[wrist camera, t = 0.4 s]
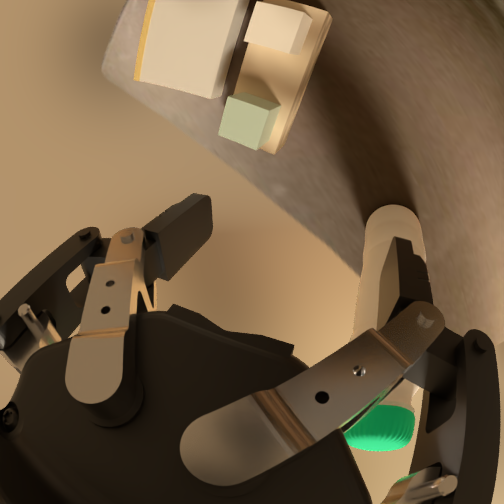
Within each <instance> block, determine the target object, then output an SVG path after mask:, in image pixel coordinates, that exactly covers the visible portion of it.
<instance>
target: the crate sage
mask: <svg viewBox="0 0 504 504" xmlns="http://www.w3.org/2000/svg"><path fill="white" fill-rule="evenodd" d="M280 108H281V105H279V104H276V103H274V102H271V101H268V100H266V99H263V98H260V97H257V96H254V95H251V94H248V93H245V92H242V93H238V94H234V95H231V96H228V98H227V101H226V105H225V109H224V113H223V117H222V121H221V125H220V129H219V133H218V135H219V136H222V137H225V138H227V139H230V140H232V141H235V142H237V143H240V144H242V145H245V146H247V147H249V148H252V149H254V150H257V149H259V148H260V147H261V146H263V145H264V144H265V143H266V142H268V141H269V139H270V136H271V133H272V130H273V128H274V125H275V122H276V119H277V116H278V113H279V110H280Z"/></svg>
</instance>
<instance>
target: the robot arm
mask: <svg viewBox="0 0 504 504" xmlns="http://www.w3.org/2000/svg"><path fill="white" fill-rule="evenodd" d="M212 229H213V221H212V206H211V198H210V197H209V196H208V195H202V194H196V193H193V194H191V195H190V196H188V197H187V198H186V199H185V200H183V201H181V202H180V203H177V204H175V205H172V206H171V207H170V208H168V209H167V210H165V212H163V213H161V214H160V215H159V216H158V217H156V218H154V219H153V220H152V221H150V222H149V223H148V224H146V225H145V226H144V227H142V228H141V229H139V228H135V227H132V228H126V229H123V230H120V231H118V232H117V233H116V234H114V236H113V237H112V238H101V234H100V231H99V229H98V228H96V227H88V228H85V229H82V230H80V231H78V232H77V233H75V234H74V235H73V236H72V237H70V238H69V239H68V240H67V241H65V242H64V243H63V244H62V245H60V246H59V247H58V248H57V249H56V250H54V251H53V252H52V253H51V254H49V255H48V256H47V257H46V258H45V259H44V260H42V262H40V263H39V264H38V265H37V266H36V267H35V268H33V269H32V270H31V271H30V272H29V273H28V274H27V275H26V276H24V277H23V279H21V280H20V281H19V282H18V283H17V284H16V285H15V286H14V287H13V288H12V289H11V290H10V291H9V292H8V293H7V294H6V295H5V296H4V297H3V298H2V299H1V300H0V354H1V355H2V356H3V357H4V358H5V359H6V360H7V362H8V363H9V364H10V365H11V366H13V367H14V368H15V369H16V370H17V371H18V372H19V373H20V374H21V375H20V379H19V382H18V384H17V387H16V389H15V392H14V394H13V396H12V398H11V400H10V402H9V403H8V405H7V406H6V407H5V408H3V409H2V410H0V504H372V500H371V496H370V494H369V492H368V489H367V487H366V485H365V482H364V480H363V478H362V476H361V473H360V471H359V469H358V466H357V464H356V461H355V459H354V457H353V455H352V453H351V450H350V448H349V445H348V443H347V441H346V439H345V436H344V433H345V432H347V431H348V430H349V429H351V428H352V427H353V426H354V425H356V424H357V423H358V422H359V421H360V420H362V419H363V418H364V417H365V416H366V415H367V414H368V413H369V412H370V411H371V410H373V409H374V408H375V407H376V406H377V405H378V404H379V403H380V402H382V401H383V400H384V399H385V398H386V397H387V396H388V395H389V394H390V393H391V392H392V391H393V390H394V389H395V388H397V387H398V386H399V385H400V384H401V383H402V382H403V381H404V380H405V379H406V380H408V381H410V382H412V383H414V384H415V385H417V386H419V387H421V388H423V389H424V391H423V400H422V409H421V416H420V422H419V428H418V434H417V440H416V445H415V450H414V455H413V459H412V463H411V467H410V471H409V475H408V476H405V477H403V478H401V479H399V480H398V481H397V482H396V483H395V484H394V485H393V486H392V487H391V489H390V491H389V492H388V494H387V496H386V498H385V499H384V501H383V502H382V503H381V504H491V502H492V497H493V492H494V487H495V481H496V473H497V466H498V457H499V445H500V392H499V379H498V369H497V361H496V354H495V348H494V345H493V343H492V341H491V339H490V338H489V337H488V336H487V335H486V334H485V333H483V332H482V331H480V330H476V329H472V330H469V331H468V332H467V333H466V334H465V336H464V337H462V336H460V335H458V334H456V333H454V332H453V331H451V330H449V329H447V328H446V327H445V320H444V317H443V315H442V313H441V312H440V310H439V309H438V308H437V307H435V306H434V305H433V299H432V293H431V287H430V282H429V276H428V271H427V266H426V263H425V262H424V260H423V259H422V258H421V256H420V255H416V254H414V252H413V247H412V242H411V240H407V239H404V238H400V237H396V236H394V237H393V239H392V242H391V245H390V248H389V251H388V254H387V257H386V259H385V262H384V265H383V268H382V271H381V276H380V282H379V302H378V317H377V328H376V330H375V329H374V328H370V329H368V330H366V331H365V332H363V333H362V334H361V335H359V336H358V337H356V338H355V339H354V340H352V341H351V342H349V343H348V344H346V345H345V346H343V347H342V348H340V349H339V350H338V351H336V352H334V353H333V354H331V355H330V356H328V357H326V358H325V359H323V360H322V361H320V362H318V363H317V364H315V365H314V366H312V367H310V368H309V367H308V366H307V365H306V364H305V363H304V362H302V361H301V360H299V359H298V358H297V357H295V356H293V355H292V354H293V350H294V345H293V344H289V343H286V342H283V341H279V340H276V339H273V338H270V337H266V336H263V335H257V334H247V333H238V332H230V331H226V330H223V329H222V328H220V327H219V326H217V325H216V324H214V323H212V322H211V321H210V320H208V319H207V318H205V317H204V316H202V315H201V314H199V313H196V312H194V311H191V310H188V309H186V308H183V307H181V306H178V305H176V304H173V305H172V306H171V307H170V308H169V310H168V311H157V299H156V296H157V295H156V294H157V293H156V282H155V280H156V279H157V278H161V279H163V280H166V281H169V280H170V279H171V278H172V277H173V276H174V275H175V274H176V273H177V272H178V270H180V268H181V267H182V266H183V265H184V264H185V263H186V262H187V261H188V260H189V259H190V258H191V257H192V256H193V255H194V254H195V253H196V252H197V251H198V250H199V249H200V247H202V245H203V244H204V243H205V242H206V241H207V240H208V239H209V238H210V236H211V234H212ZM80 264H81V266H82V269H83V271H84V274H85V276H86V277H85V278H84V279H83V280H82V281H81V282H80V283H79V284H78V285H77V286H76V287H75V288H74V289H73V290H72V291H71V292H70V293H69V291H68V289H67V286H66V279H67V277H68V275H69V274H70V273H71V272H72V271H73V270H75V269H76V268H77V267H78V266H79V265H80ZM80 323H81V324H80ZM79 324H80V330H79V332H78V334H77V335H74V336H73V337H71V338H68V337H69V336H70V335H71V334H72V333H73V331H74V330H75V329H76V328H77V327H78V325H79ZM67 338H68V339H67Z"/></svg>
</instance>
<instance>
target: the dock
mask: <svg viewBox="0 0 504 504" xmlns="http://www.w3.org/2000/svg"><path fill="white" fill-rule="evenodd" d="M249 1H250V0H149V2H148V6H147V10H146V14H145V18H144V23H143V27H142V32H141V37H140V43H139V48H138V54H137V60H136V67H135V74H134V80H136V81H142V82H147V83H152V84H156V85H161V86H165V87H169V88H173V89H177V90H181V91H184V92H188V93H192V94H195V95H199V96H202V97H205V98H209V99H213V98H216V97H220V96H222V92H223V88H224V84H225V80H226V77H227V73H228V69H229V66H230V62H231V59H232V55H233V52H234V48H235V45H236V42H237V38H238V35H239V32H240V29H241V26H242V22H243V19H244V16H245V13H246V10H247V7H248V4H249Z"/></svg>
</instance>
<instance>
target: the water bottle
mask: <svg viewBox="0 0 504 504" xmlns="http://www.w3.org/2000/svg"><path fill="white" fill-rule="evenodd" d="M394 236H396V237H400V238H404V239H407V240H411V242H412V247H413V252H414V254H416V255H420V256H421V258H422V259H423V260H424V262H425V263H426V252H425V247H424V243H423V240H422V230H421V226H420V222H419V220H418V218H417V217H416V215H415V214H414V213H413V212H412V211H411V210H409V209H408V208H406V207H404V206H401V205H386V206H383V207H380V208H379V209H377V210H376V211H374V212H373V213H372V214H371V216H370V217H369V219H368V221H367V224H366V229H365V246H364V251H363V269H362V273H361V278H360V284H359V290H358V296H357V303H356V310H355V318H354V328H353V335H352V337H351V338H350V341H349V342H351V341H352V340H354V339H355V338H356V337H358V336H359V335H361V334H362V333H363V332H365V331H366V330H368V329H370V328H374V329H375V330H376V328H377V317H378V302H379V282H380V276H381V271H382V268H383V265H384V262H385V259H386V257H387V254H388V251H389V248H390V245H391V242H392V239H393V237H394ZM427 271H428V270H427ZM428 276H429V274H428ZM429 282H430V280H429ZM430 287H431V286H430ZM419 388H420V387H419V386H417V385H415V384H414V383H412V382H410V381H408V380H406V379H405V380H404V381H403V382H402V383H401V384H400V385H399V386H398V387H397V388H395V389H394V390H393V391H392V392H391V393H390V394H389V395H388V396H387V397H386V398H385V399H384V400H383V401H382V402H380V403H379V404H378V405H377V406H376V407H375V408H374V409H373V410H371V411H370V412H369V413H368V414H367V415H366V416H365V417H364V418H363V419H362V420H360V421H359V422H358V423H357V424H356V425H354V426H353V427H352V428H351V429H349V430H348V431H347V432H345V433H344V436H345V439H346V441H347V443H348V445H350V446H352V447H355V448H358V449H362V450H369V451H391V450H396V449H400V448H402V447H404V446H406V445H407V444H408V443H409V442H410V440H411V438H412V435H413V431H414V425H415V417H414V408H413V407H412V406H411V400H412V397H413V396H414V394H415V393H416V391H417V390H418V389H419Z"/></svg>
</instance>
